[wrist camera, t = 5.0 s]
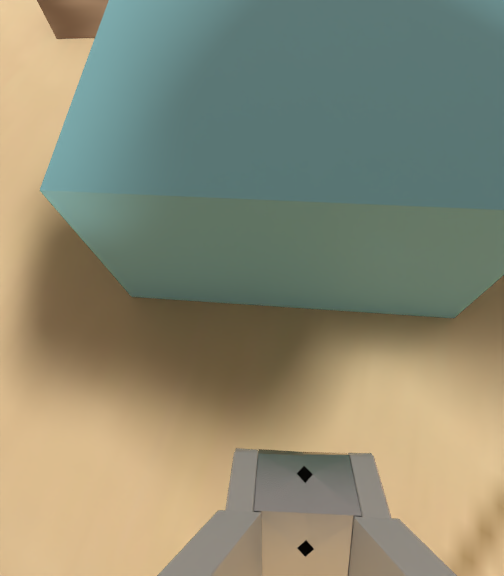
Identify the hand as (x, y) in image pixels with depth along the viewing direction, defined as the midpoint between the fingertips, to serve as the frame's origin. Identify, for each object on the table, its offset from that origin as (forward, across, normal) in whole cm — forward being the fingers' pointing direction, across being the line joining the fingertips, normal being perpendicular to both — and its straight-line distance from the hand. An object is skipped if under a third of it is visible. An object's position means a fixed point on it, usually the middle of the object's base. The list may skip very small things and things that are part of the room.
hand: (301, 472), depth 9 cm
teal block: (+14, 0, -4) cm, 14 cm away
